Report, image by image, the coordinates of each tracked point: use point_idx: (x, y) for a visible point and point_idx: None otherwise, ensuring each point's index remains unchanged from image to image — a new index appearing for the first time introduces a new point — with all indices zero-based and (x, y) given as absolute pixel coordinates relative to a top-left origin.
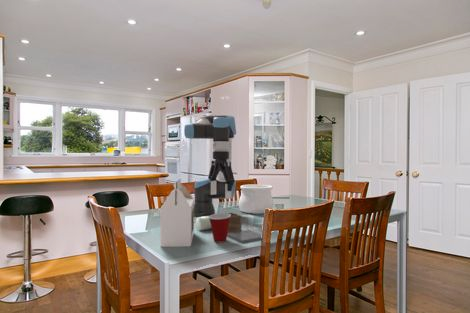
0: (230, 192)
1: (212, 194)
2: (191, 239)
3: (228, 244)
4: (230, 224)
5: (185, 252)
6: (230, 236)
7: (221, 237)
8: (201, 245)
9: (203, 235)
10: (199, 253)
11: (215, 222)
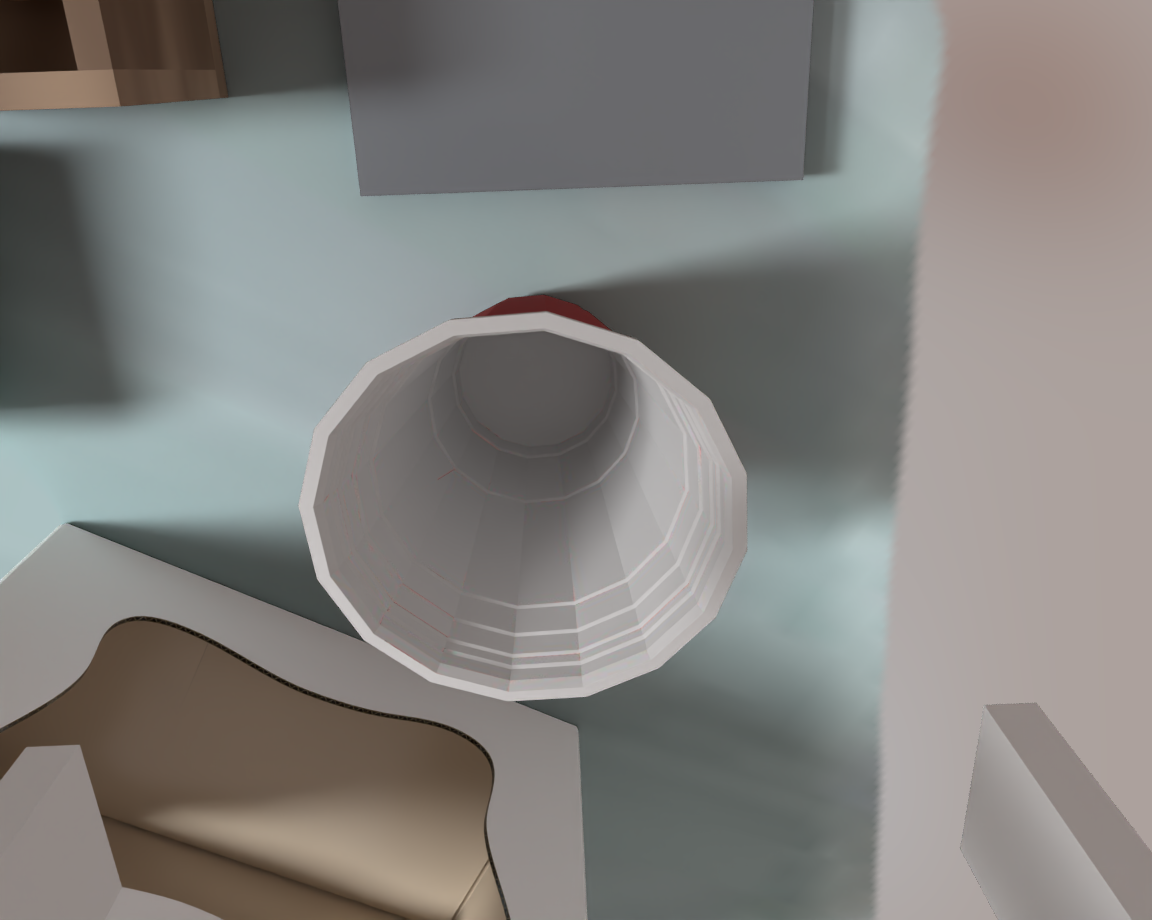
0: (1134, 866)
1: (108, 861)
2: (500, 727)
3: (740, 361)
4: (164, 16)
5: (721, 815)
6: (492, 188)
7: (625, 418)
8: None
9: (219, 457)
10: (821, 731)
11: (627, 607)
